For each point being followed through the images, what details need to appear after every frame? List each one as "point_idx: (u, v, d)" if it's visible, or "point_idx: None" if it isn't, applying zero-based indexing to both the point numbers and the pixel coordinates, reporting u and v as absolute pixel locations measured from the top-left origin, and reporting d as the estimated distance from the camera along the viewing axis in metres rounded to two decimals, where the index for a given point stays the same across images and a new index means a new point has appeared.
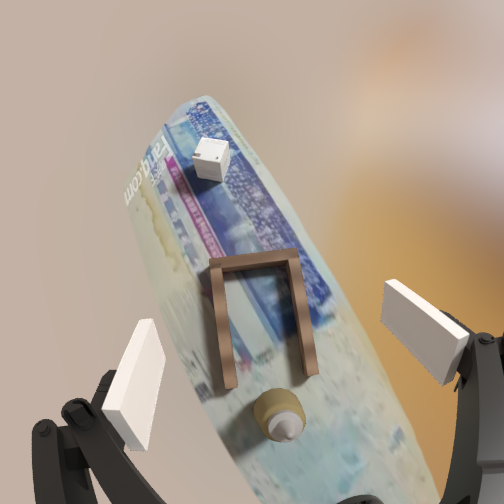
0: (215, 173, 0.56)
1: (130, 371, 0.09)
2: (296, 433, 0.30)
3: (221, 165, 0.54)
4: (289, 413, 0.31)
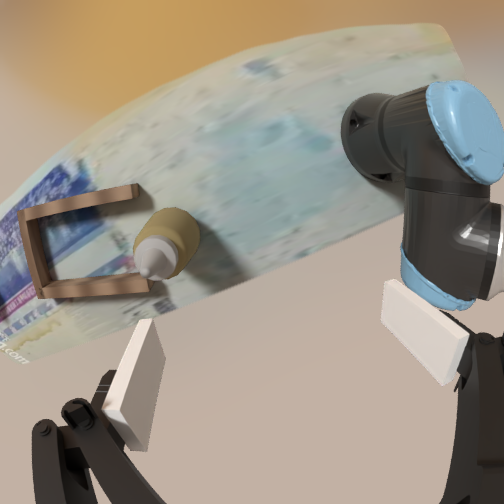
0: None
1: (130, 371, 0.09)
2: (163, 247, 0.27)
3: None
4: (135, 255, 0.27)
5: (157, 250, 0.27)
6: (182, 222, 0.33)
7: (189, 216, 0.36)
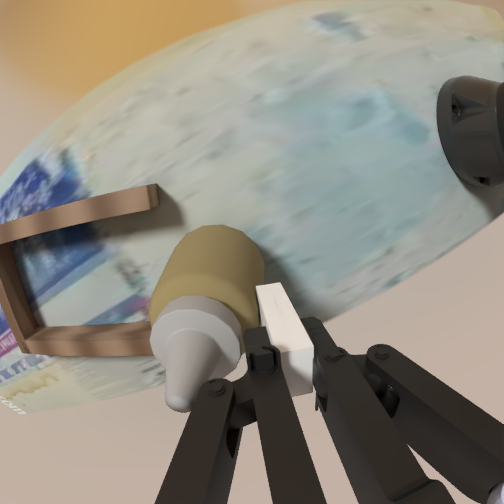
0: None
1: (282, 321, 0.12)
2: (212, 327, 0.12)
3: None
4: (152, 338, 0.13)
5: (200, 336, 0.12)
6: (242, 257, 0.18)
7: (248, 240, 0.21)
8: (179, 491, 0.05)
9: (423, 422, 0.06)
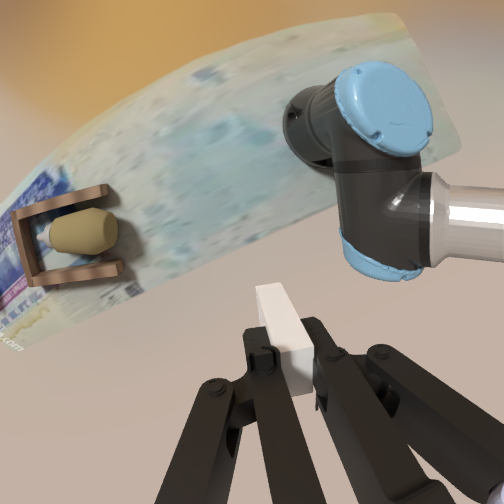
0: None
1: (281, 321, 0.12)
2: None
3: None
4: None
5: None
6: (64, 221, 0.38)
7: (79, 218, 0.38)
8: (179, 491, 0.05)
9: (423, 422, 0.06)
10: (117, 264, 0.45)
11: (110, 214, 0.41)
